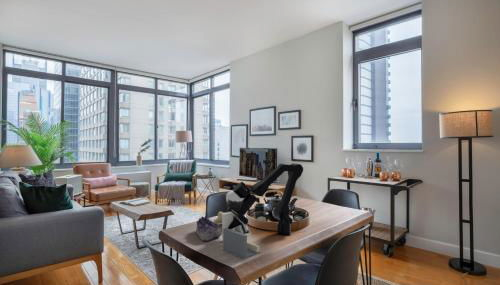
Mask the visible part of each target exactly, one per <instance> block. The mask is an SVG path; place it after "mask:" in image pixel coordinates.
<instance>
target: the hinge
mask: <svg viewBox="0 0 500 285" xmlns="http://www.w3.org/2000/svg"><path fill="white" fill-rule="evenodd" d="M242 224H243V225H240V226H237V227H235V231H237V232H239V233H242V234H245V232H248V233H251V231H250V229H249V228H247V225H245V224H244V223H242Z"/></svg>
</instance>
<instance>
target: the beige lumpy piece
mask: <svg viewBox="0 0 500 285" xmlns="http://www.w3.org/2000/svg"><path fill="white" fill-rule="evenodd" d="M222 213H224V212H223V211H219V212H217V218H216V219H214V220H213V222H214V223H215V224H218V225H219V224H222Z"/></svg>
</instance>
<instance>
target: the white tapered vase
mask: <svg viewBox="0 0 500 285" xmlns="http://www.w3.org/2000/svg"><path fill="white" fill-rule="evenodd" d="M233 215H234V214H233V213H232V212H228V211H227V212H223V213H222V223H221V225H222V226H221V233H222V240H223V229H224V228H228V226H229V225H230V223H231V222H232V221H233ZM234 216H235V215H234ZM231 230H233V231H236V229H235V228H233V229H231Z"/></svg>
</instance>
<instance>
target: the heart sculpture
mask: <svg viewBox="0 0 500 285" xmlns="http://www.w3.org/2000/svg"><path fill="white" fill-rule="evenodd" d="M228 199H229V200H231V201H237V202H239V201H240V202H241V201H242V200H243V199H244V198H240V197H239V196H237V195H236V194H235V193H234V192H233V190H230V191H227V193H226V195H225V201H226V203H227V202H228ZM244 216H245V217H246V215H244ZM246 218H247V217H246Z"/></svg>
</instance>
